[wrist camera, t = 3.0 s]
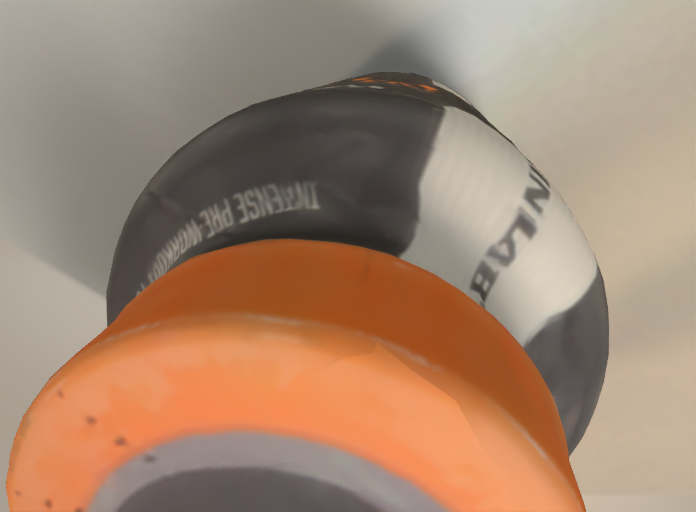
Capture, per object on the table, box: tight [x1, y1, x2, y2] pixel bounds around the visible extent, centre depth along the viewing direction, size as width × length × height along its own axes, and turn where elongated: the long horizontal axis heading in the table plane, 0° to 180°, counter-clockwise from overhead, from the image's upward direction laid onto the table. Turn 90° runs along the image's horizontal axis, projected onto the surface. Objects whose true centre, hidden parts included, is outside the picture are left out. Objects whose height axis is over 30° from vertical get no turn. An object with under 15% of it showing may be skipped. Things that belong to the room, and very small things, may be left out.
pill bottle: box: [6, 72, 609, 512], centre depth 8 cm, size 6×6×11 cm
